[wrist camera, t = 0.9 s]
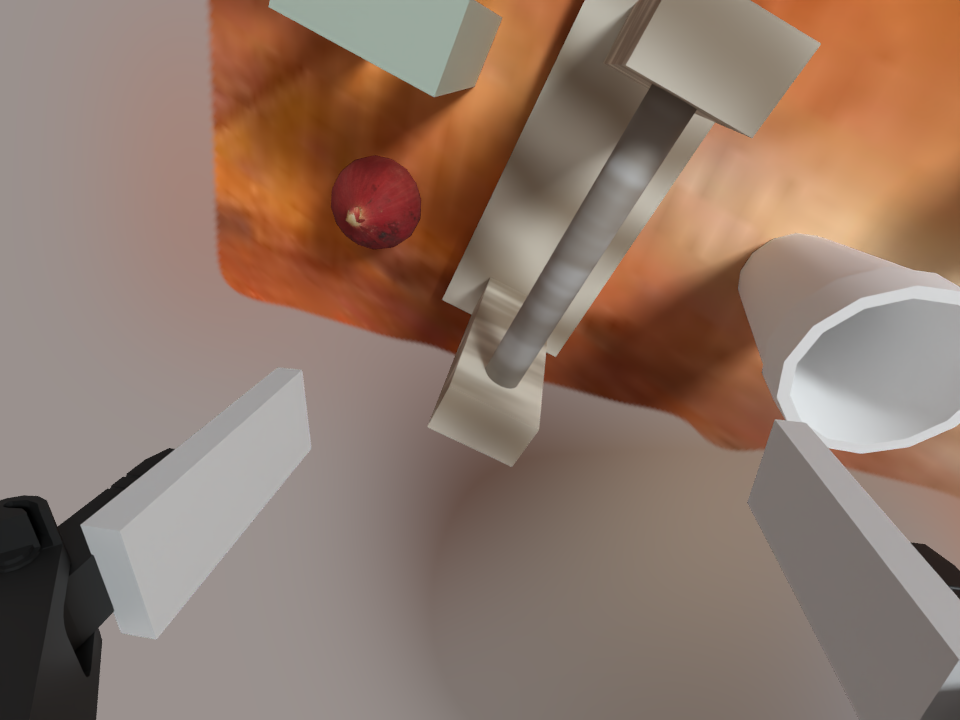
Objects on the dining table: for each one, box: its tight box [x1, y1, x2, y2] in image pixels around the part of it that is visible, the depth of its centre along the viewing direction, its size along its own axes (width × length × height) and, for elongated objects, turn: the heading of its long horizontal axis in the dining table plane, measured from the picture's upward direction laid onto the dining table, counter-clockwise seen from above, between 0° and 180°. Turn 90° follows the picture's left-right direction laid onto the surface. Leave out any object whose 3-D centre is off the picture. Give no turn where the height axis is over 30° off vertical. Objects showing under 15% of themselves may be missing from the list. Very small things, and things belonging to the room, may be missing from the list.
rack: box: [427, 0, 821, 467], centre depth 27 cm, size 22×10×16 cm, turn 155°
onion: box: [331, 155, 421, 249], centre depth 33 cm, size 6×6×8 cm
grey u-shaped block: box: [269, 0, 502, 97], centre depth 26 cm, size 4×8×11 cm, turn 65°
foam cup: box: [738, 233, 960, 454], centre depth 29 cm, size 10×9×13 cm
